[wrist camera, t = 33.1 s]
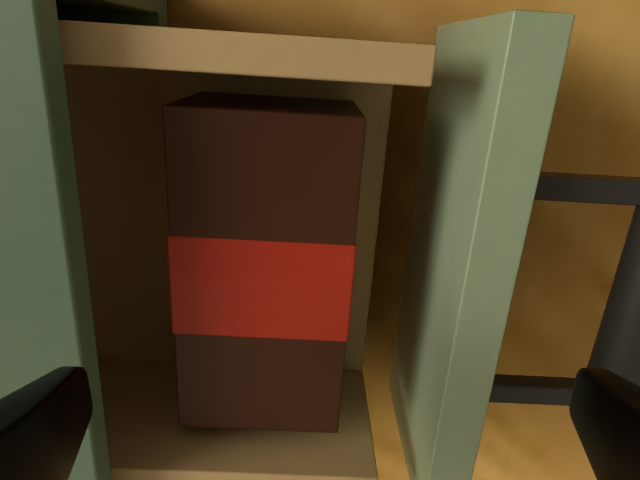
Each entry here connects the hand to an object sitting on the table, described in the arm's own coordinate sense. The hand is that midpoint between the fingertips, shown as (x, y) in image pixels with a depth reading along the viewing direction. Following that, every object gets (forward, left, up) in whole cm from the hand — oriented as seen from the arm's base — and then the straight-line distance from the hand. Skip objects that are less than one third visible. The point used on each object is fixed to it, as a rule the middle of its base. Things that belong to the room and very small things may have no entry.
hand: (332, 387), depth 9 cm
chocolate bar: (+2, 0, -8) cm, 8 cm away
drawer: (+1, 0, -9) cm, 9 cm away
